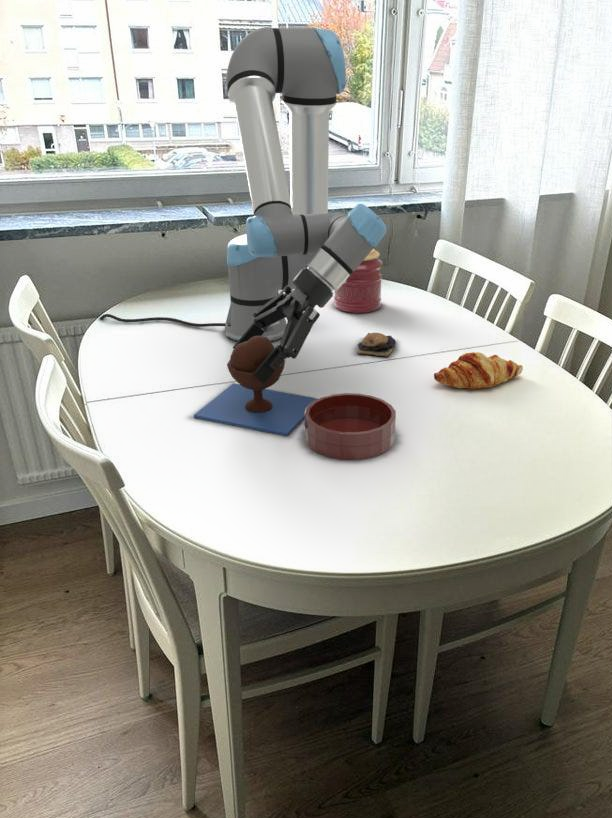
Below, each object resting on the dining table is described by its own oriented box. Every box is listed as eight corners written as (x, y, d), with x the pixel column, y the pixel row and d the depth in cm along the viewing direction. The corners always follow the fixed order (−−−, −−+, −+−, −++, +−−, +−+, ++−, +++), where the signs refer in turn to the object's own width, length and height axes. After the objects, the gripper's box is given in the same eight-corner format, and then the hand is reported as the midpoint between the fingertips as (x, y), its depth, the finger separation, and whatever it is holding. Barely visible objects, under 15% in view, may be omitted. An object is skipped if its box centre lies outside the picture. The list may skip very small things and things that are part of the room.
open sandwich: (389, 358, 169) (390, 343, 167) (354, 354, 170) (354, 339, 168) (398, 342, 178) (399, 327, 176) (364, 338, 179) (365, 324, 177)
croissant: (511, 384, 165) (508, 349, 165) (536, 381, 156) (532, 343, 155) (427, 395, 159) (423, 358, 158) (447, 392, 149) (443, 353, 148)
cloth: (193, 417, 141) (193, 414, 141) (233, 385, 154) (233, 383, 154) (287, 436, 136) (287, 433, 135) (320, 401, 149) (320, 399, 148)
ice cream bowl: (290, 396, 149) (287, 326, 141) (279, 421, 140) (276, 347, 132) (239, 393, 150) (234, 323, 142) (225, 417, 140) (219, 344, 132)
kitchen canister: (339, 296, 206) (339, 232, 197) (384, 300, 204) (387, 236, 195) (328, 311, 195) (328, 244, 186) (376, 315, 193) (378, 248, 184)
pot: (290, 449, 132) (289, 424, 129) (326, 411, 145) (325, 387, 142) (377, 467, 127) (378, 441, 124) (405, 426, 140) (407, 401, 137)
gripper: (359, 313, 129) (282, 402, 132) (310, 273, 149) (243, 352, 151) (331, 286, 125) (252, 380, 128) (284, 249, 144) (216, 331, 147)
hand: (247, 365), depth 139 cm, fingers open, 13 cm apart
